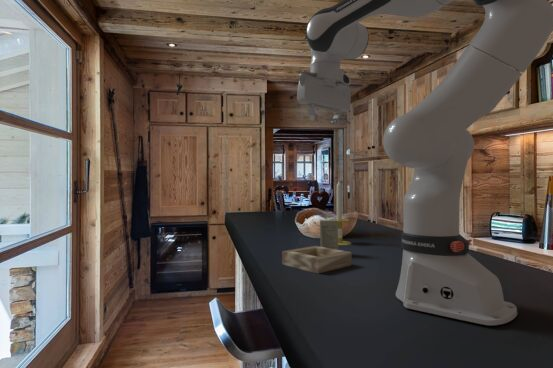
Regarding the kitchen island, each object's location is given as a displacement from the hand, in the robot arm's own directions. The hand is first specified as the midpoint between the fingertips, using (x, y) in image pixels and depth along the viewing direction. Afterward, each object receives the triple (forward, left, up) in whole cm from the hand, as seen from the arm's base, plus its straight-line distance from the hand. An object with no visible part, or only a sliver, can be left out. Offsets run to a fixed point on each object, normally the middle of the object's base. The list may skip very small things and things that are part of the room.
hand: (324, 122), depth 104 cm
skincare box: (+12, -16, -43) cm, 48 cm away
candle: (+24, -36, -43) cm, 61 cm away
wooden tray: (+4, -1, -43) cm, 43 cm away
